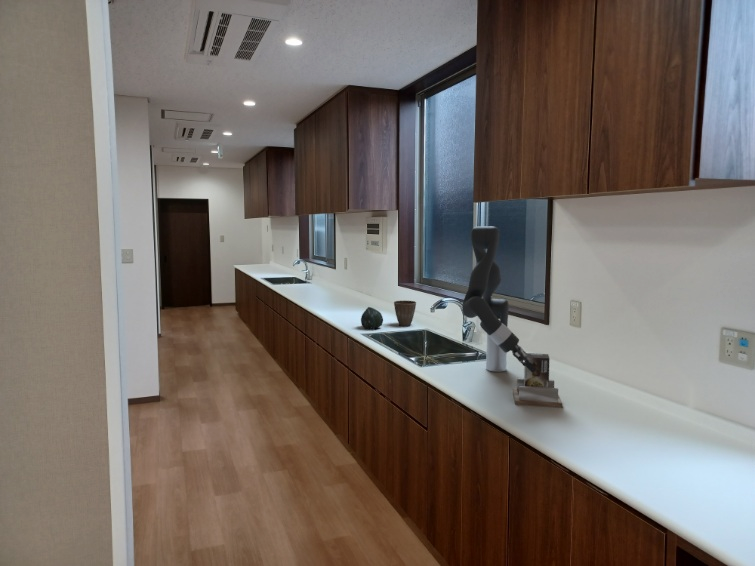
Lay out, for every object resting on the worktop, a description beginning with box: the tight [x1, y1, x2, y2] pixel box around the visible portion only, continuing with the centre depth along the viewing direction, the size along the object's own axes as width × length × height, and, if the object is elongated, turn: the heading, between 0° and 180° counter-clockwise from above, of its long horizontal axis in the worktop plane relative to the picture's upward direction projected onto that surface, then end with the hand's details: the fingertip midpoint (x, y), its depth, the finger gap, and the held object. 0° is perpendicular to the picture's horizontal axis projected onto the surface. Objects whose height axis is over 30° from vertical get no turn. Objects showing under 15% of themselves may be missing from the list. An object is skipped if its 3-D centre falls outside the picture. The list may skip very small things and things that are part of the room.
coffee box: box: [523, 352, 551, 388], centre depth 201 cm, size 9×6×16 cm
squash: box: [360, 306, 384, 330], centre depth 342 cm, size 14×15×15 cm
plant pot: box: [393, 300, 417, 327], centre depth 351 cm, size 15×15×16 cm
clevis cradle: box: [512, 377, 563, 408], centre depth 201 cm, size 14×17×6 cm
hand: (533, 368), depth 201 cm, fingers open, 8 cm apart
